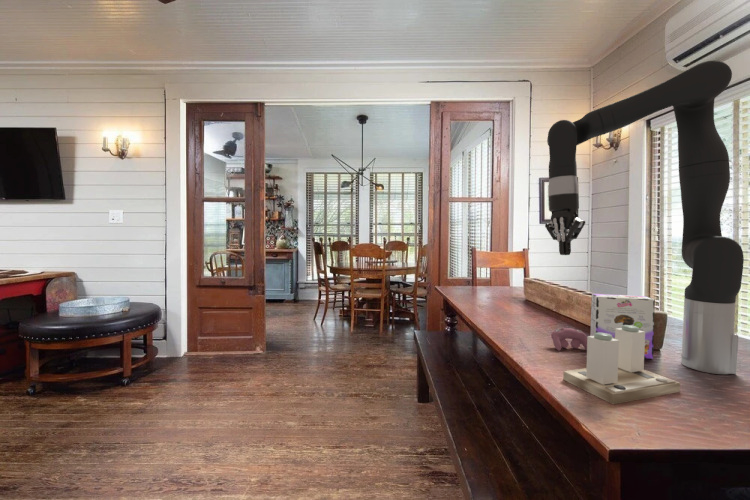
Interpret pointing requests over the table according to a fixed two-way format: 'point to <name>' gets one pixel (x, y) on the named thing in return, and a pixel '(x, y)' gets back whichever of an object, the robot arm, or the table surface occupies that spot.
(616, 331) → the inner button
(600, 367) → the white bottle with cap
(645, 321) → the candy box
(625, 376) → the switch board
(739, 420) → the table surface
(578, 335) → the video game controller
